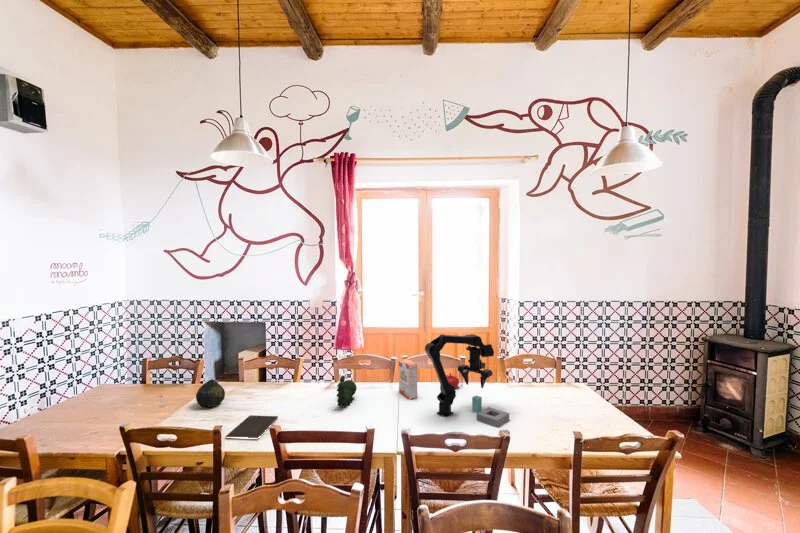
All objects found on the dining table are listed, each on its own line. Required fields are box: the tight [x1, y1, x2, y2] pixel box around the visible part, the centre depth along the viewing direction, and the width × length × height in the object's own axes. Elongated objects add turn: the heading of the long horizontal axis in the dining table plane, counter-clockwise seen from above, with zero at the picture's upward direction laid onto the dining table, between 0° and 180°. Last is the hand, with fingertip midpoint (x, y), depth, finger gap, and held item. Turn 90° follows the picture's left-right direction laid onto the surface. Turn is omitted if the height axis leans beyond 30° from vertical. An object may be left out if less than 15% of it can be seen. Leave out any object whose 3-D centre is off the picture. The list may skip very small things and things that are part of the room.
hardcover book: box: [225, 414, 279, 438], centre depth 196 cm, size 16×23×2 cm
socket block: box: [475, 406, 510, 428], centre depth 204 cm, size 12×12×4 cm
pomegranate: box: [446, 372, 460, 390], centre depth 253 cm, size 10×10×9 cm
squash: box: [195, 378, 226, 408], centre depth 226 cm, size 14×15×15 cm
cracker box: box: [398, 357, 418, 400], centre depth 239 cm, size 14×6×21 cm, turn 25°
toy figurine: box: [336, 375, 357, 407], centre depth 229 cm, size 9×19×25 cm
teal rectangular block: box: [471, 395, 483, 414], centre depth 215 cm, size 4×4×8 cm
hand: (474, 386), depth 217 cm, fingers open, 9 cm apart
